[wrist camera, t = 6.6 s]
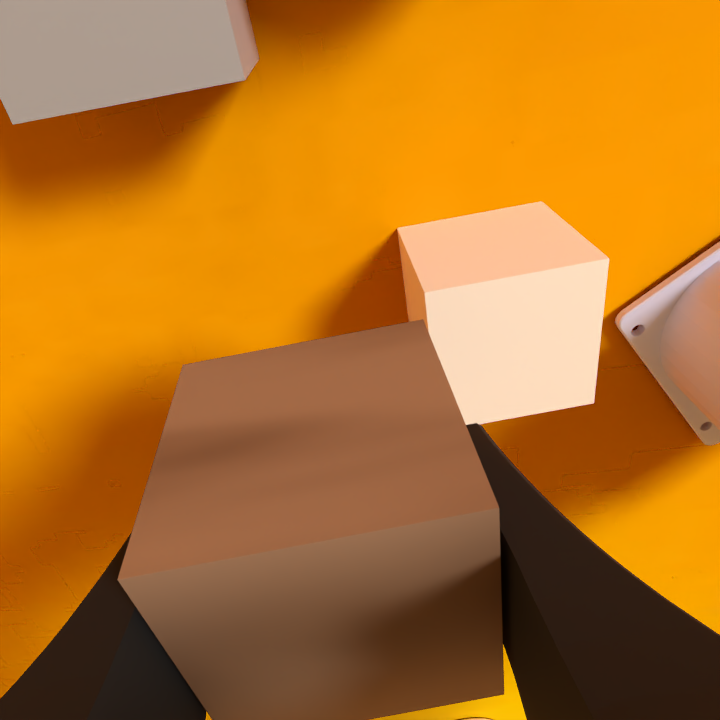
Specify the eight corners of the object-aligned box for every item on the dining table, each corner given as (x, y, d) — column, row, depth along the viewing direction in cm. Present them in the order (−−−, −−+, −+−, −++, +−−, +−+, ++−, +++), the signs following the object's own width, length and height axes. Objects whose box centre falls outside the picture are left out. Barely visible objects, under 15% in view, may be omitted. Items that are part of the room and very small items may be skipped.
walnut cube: (441, 487, 14) (504, 694, 10) (249, 523, 14) (229, 745, 10) (423, 319, 11) (498, 508, 7) (182, 364, 11) (117, 579, 7)
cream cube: (537, 325, 22) (593, 403, 17) (411, 348, 22) (438, 431, 17) (540, 200, 19) (609, 258, 15) (396, 227, 19) (424, 292, 15)
